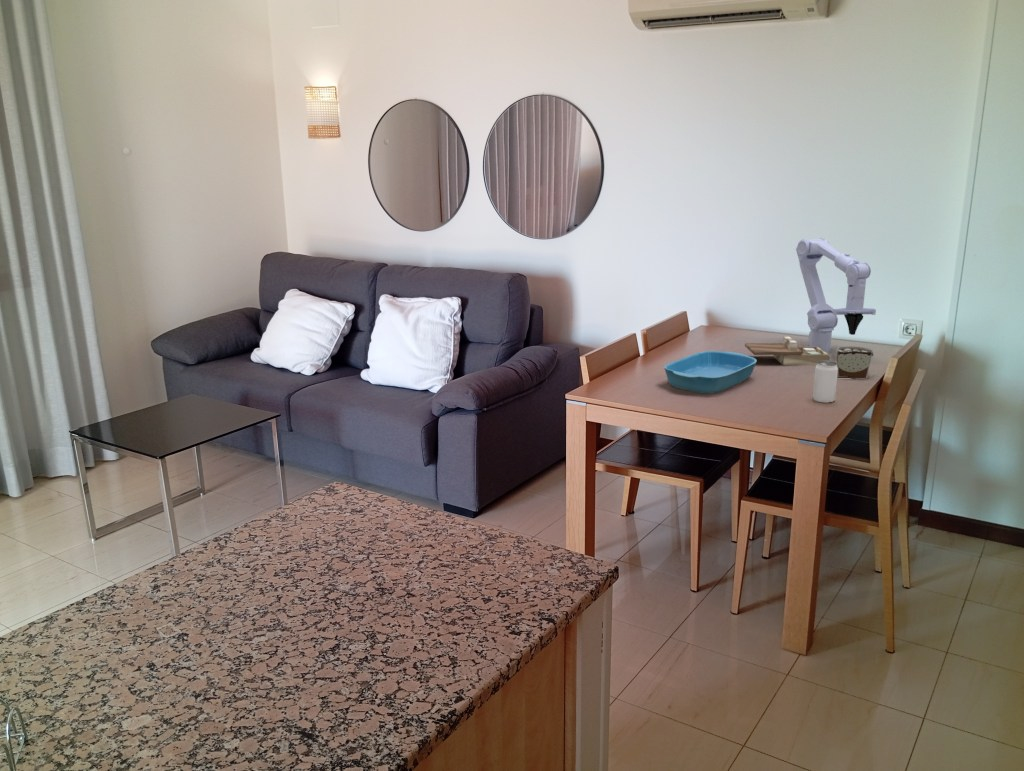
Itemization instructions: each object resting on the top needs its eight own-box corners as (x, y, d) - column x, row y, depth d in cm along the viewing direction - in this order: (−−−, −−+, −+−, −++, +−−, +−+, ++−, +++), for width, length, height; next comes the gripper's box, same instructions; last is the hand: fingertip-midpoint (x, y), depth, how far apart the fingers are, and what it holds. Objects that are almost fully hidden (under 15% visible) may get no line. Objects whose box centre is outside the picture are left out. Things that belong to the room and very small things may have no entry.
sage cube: (805, 361, 293) (806, 352, 292) (814, 360, 294) (815, 351, 293) (811, 364, 290) (812, 354, 289) (820, 363, 291) (821, 353, 290)
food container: (865, 374, 279) (868, 346, 276) (870, 378, 273) (874, 350, 270) (828, 373, 280) (831, 345, 277) (833, 378, 274) (836, 350, 271)
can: (809, 397, 253) (812, 360, 250) (829, 396, 254) (832, 360, 250) (818, 403, 247) (821, 365, 244) (838, 402, 247) (842, 365, 244)
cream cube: (802, 357, 300) (802, 347, 299) (811, 357, 300) (812, 347, 299) (805, 359, 296) (806, 350, 295) (815, 359, 296) (815, 350, 295)
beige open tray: (773, 358, 302) (774, 346, 300) (816, 358, 301) (817, 346, 300) (783, 367, 289) (784, 355, 288) (828, 367, 289) (829, 354, 287)
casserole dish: (712, 401, 252) (713, 379, 250) (652, 388, 267) (652, 367, 265) (765, 376, 278) (767, 356, 276) (708, 366, 293) (709, 347, 291)
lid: (744, 346, 301) (745, 335, 300) (790, 345, 301) (791, 335, 300) (754, 354, 288) (754, 344, 287) (802, 354, 287) (803, 343, 286)
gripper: (839, 299, 285) (835, 336, 289) (880, 298, 285) (876, 336, 288) (832, 295, 292) (828, 332, 296) (872, 295, 291) (869, 332, 295)
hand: (851, 334), depth 292 cm, fingers closed
